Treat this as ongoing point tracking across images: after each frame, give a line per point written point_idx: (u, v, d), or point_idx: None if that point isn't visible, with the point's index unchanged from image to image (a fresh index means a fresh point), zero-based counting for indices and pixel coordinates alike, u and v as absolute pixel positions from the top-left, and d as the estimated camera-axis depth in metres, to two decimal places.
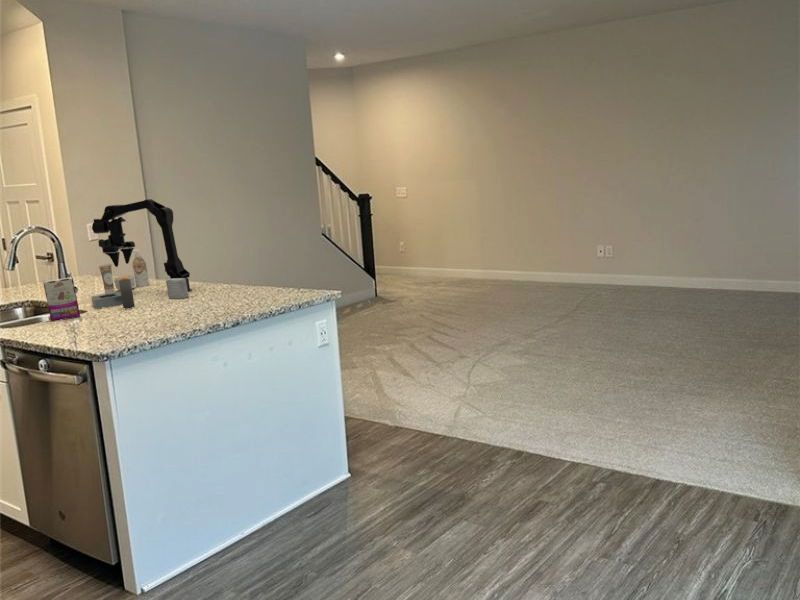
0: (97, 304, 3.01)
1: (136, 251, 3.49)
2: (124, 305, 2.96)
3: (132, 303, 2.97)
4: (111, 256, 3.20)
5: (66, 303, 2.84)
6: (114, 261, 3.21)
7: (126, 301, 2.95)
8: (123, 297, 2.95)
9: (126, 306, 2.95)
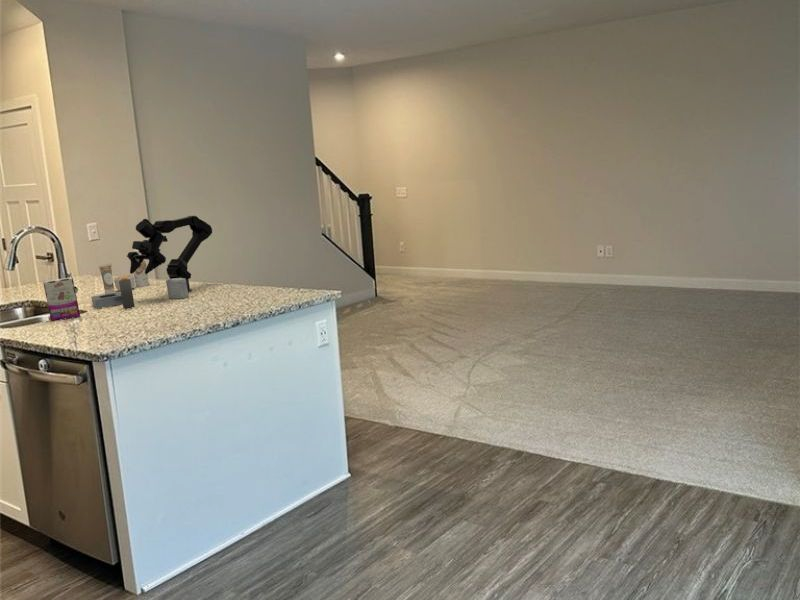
0: (97, 304, 3.01)
1: (136, 251, 3.49)
2: (124, 305, 2.96)
3: (132, 303, 2.97)
4: (151, 262, 3.01)
5: (66, 303, 2.84)
6: (149, 268, 3.01)
7: (126, 301, 2.95)
8: (123, 297, 2.95)
9: (126, 306, 2.95)
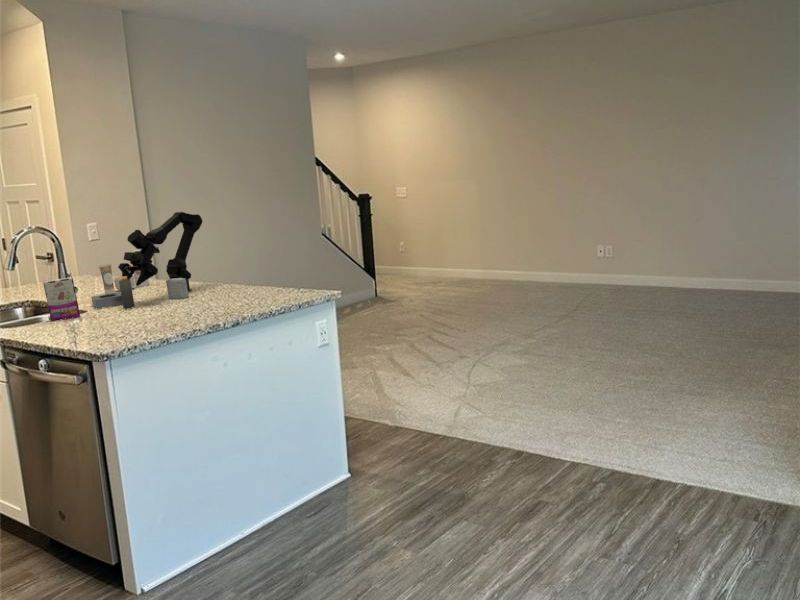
0: (97, 304, 3.01)
1: None
2: (124, 305, 2.96)
3: (132, 303, 2.97)
4: (143, 274, 2.97)
5: (66, 303, 2.84)
6: (141, 279, 2.96)
7: (126, 301, 2.95)
8: (123, 297, 2.95)
9: (126, 306, 2.95)
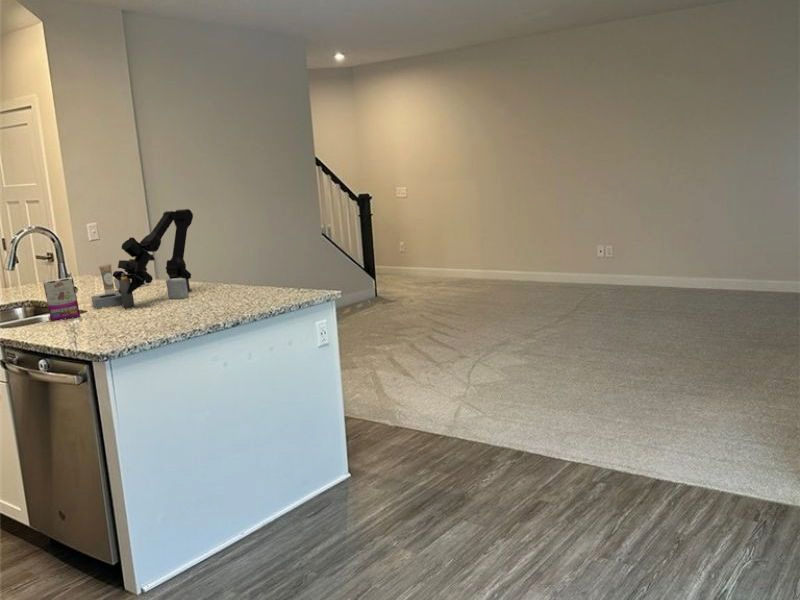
0: (97, 304, 3.01)
1: None
2: (124, 305, 2.96)
3: (132, 303, 2.97)
4: (134, 282, 2.95)
5: (66, 303, 2.84)
6: (132, 288, 2.95)
7: (126, 301, 2.95)
8: (123, 297, 2.95)
9: (126, 306, 2.95)
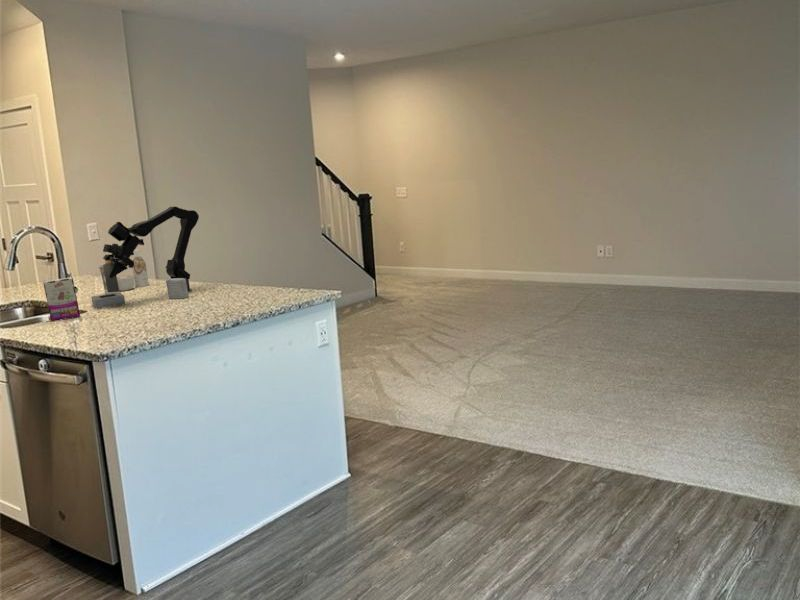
0: (97, 304, 3.01)
1: (136, 251, 3.49)
2: (107, 289, 2.99)
3: (115, 287, 2.99)
4: (116, 266, 2.97)
5: (66, 303, 2.84)
6: (114, 272, 2.97)
7: (108, 285, 2.98)
8: (106, 281, 2.98)
9: (109, 290, 2.99)
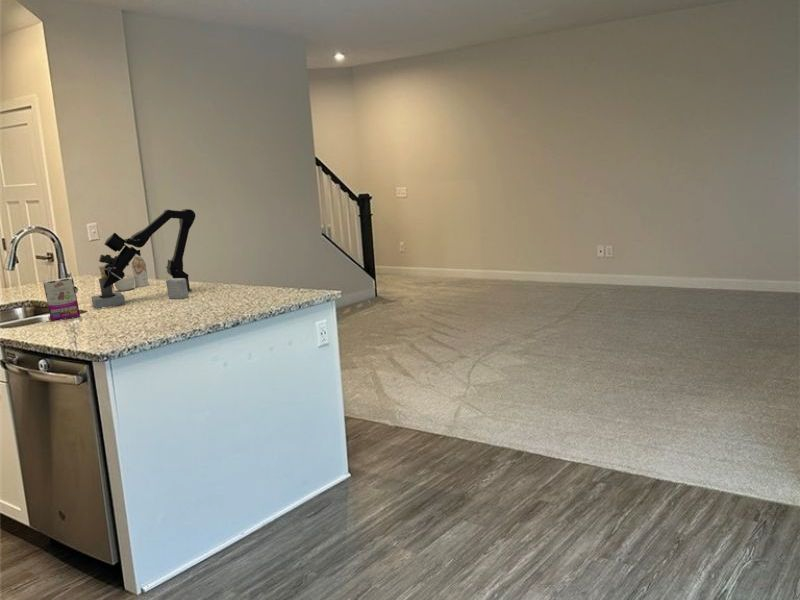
0: (97, 304, 3.01)
1: None
2: None
3: None
4: (110, 277, 3.02)
5: (66, 303, 2.84)
6: (107, 282, 3.02)
7: None
8: None
9: None
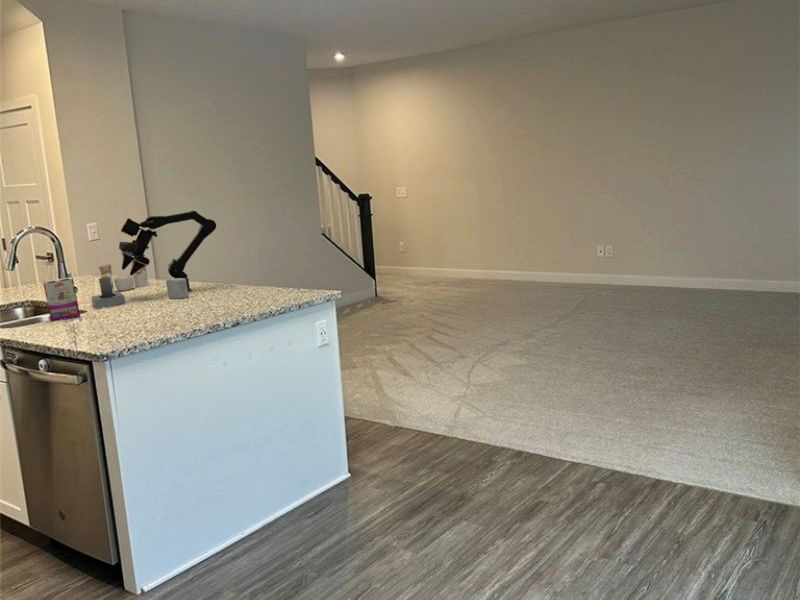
0: (97, 304, 3.01)
1: None
2: None
3: None
4: (135, 265, 3.09)
5: (66, 303, 2.84)
6: (134, 270, 3.10)
7: None
8: None
9: None
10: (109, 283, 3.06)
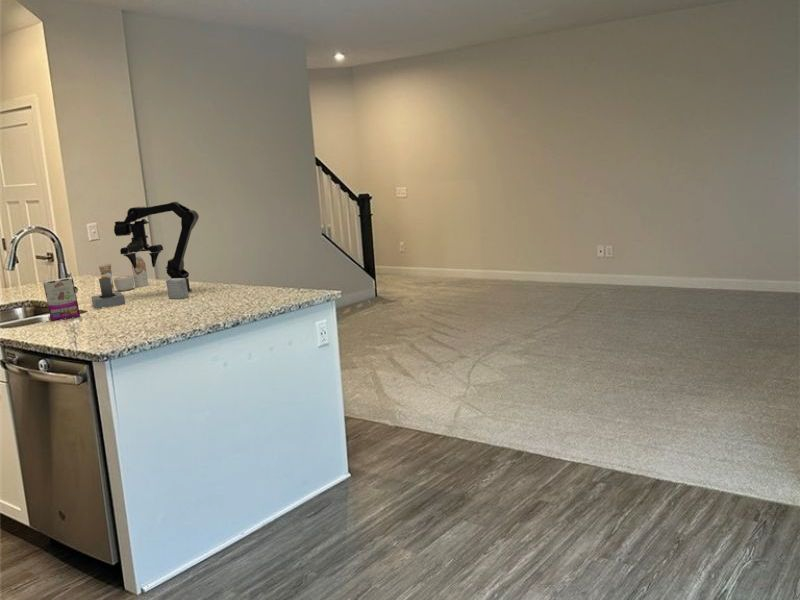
0: (97, 304, 3.01)
1: None
2: None
3: None
4: None
5: (66, 303, 2.84)
6: (154, 261, 3.22)
7: None
8: None
9: None
10: (109, 283, 3.06)
